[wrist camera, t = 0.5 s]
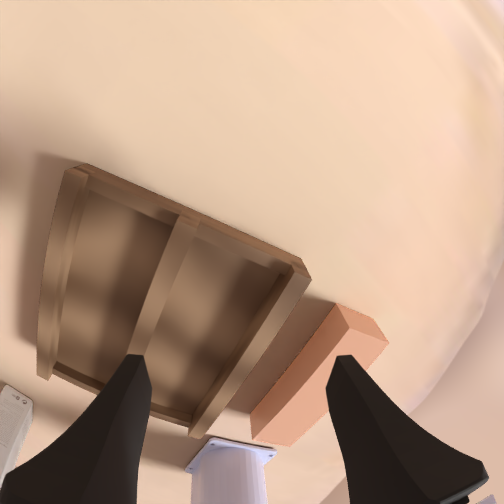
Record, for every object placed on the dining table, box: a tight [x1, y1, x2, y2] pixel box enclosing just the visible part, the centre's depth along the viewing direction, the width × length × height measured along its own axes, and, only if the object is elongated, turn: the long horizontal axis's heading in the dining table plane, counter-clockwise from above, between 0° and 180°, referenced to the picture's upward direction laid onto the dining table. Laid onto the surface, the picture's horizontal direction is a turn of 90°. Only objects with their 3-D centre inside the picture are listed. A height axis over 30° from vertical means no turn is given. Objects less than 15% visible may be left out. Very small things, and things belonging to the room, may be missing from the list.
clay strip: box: [250, 303, 389, 447], centre depth 24 cm, size 14×4×4 cm, turn 152°
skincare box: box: [0, 385, 33, 489], centre depth 20 cm, size 6×4×12 cm
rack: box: [37, 164, 312, 439], centre depth 20 cm, size 18×16×3 cm
